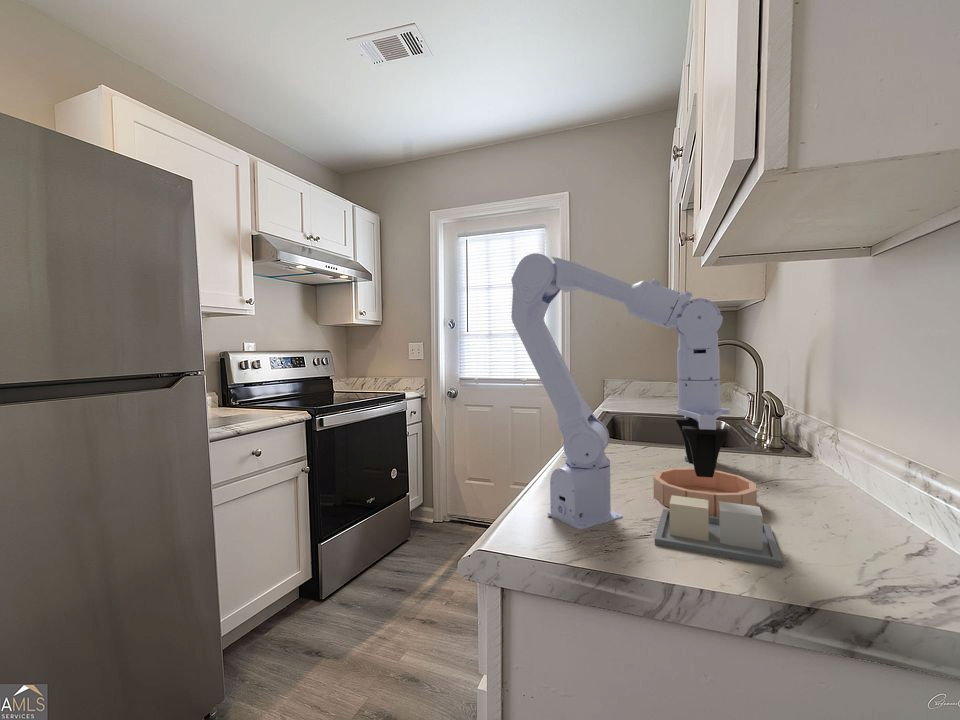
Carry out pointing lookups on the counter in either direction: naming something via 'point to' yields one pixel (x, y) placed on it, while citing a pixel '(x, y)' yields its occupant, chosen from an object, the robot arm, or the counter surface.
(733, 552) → the tray
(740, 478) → the bowl
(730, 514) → the pale grey cube
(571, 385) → the robot arm
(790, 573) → the counter surface
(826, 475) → the counter surface
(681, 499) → the cream block
